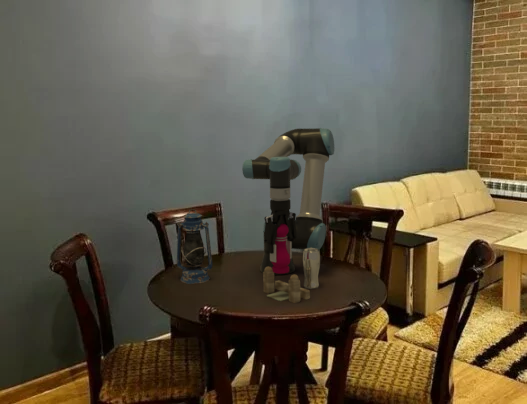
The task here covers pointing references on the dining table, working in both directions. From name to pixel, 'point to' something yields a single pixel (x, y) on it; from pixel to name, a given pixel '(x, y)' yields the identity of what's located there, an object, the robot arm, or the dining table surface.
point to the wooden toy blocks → (284, 287)
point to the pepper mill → (281, 251)
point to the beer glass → (311, 267)
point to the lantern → (193, 249)
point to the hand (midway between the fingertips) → (280, 259)
